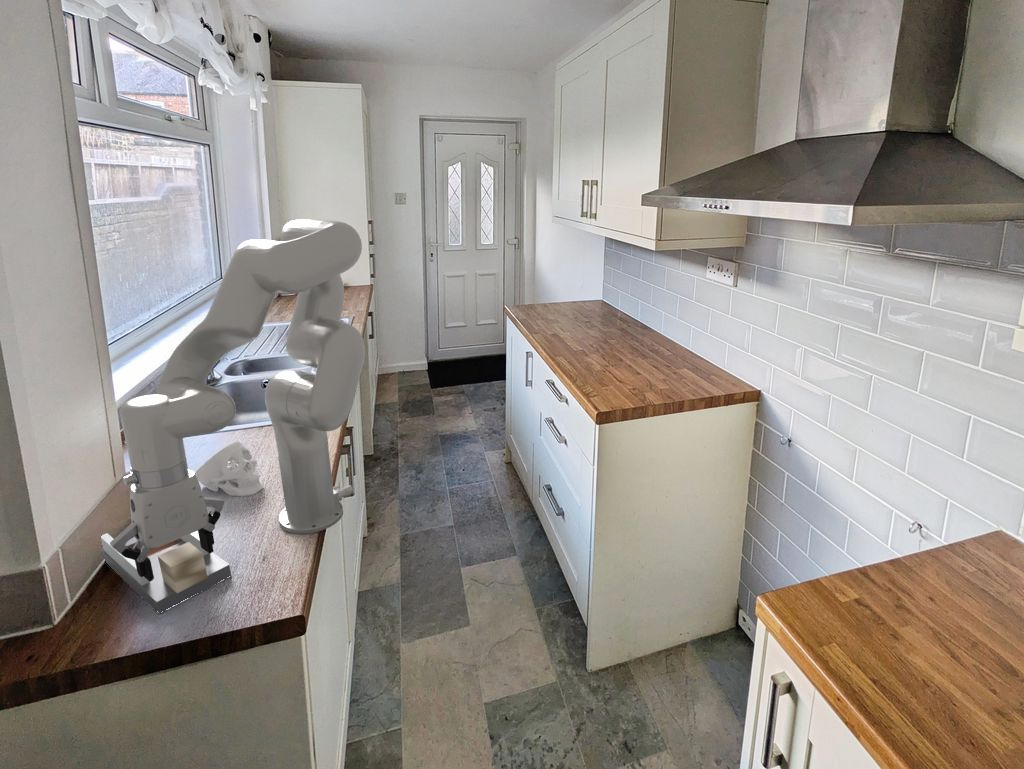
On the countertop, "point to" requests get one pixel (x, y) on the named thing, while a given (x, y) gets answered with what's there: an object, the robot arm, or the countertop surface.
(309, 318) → the robot arm
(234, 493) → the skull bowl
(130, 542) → the gray tray
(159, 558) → the block
